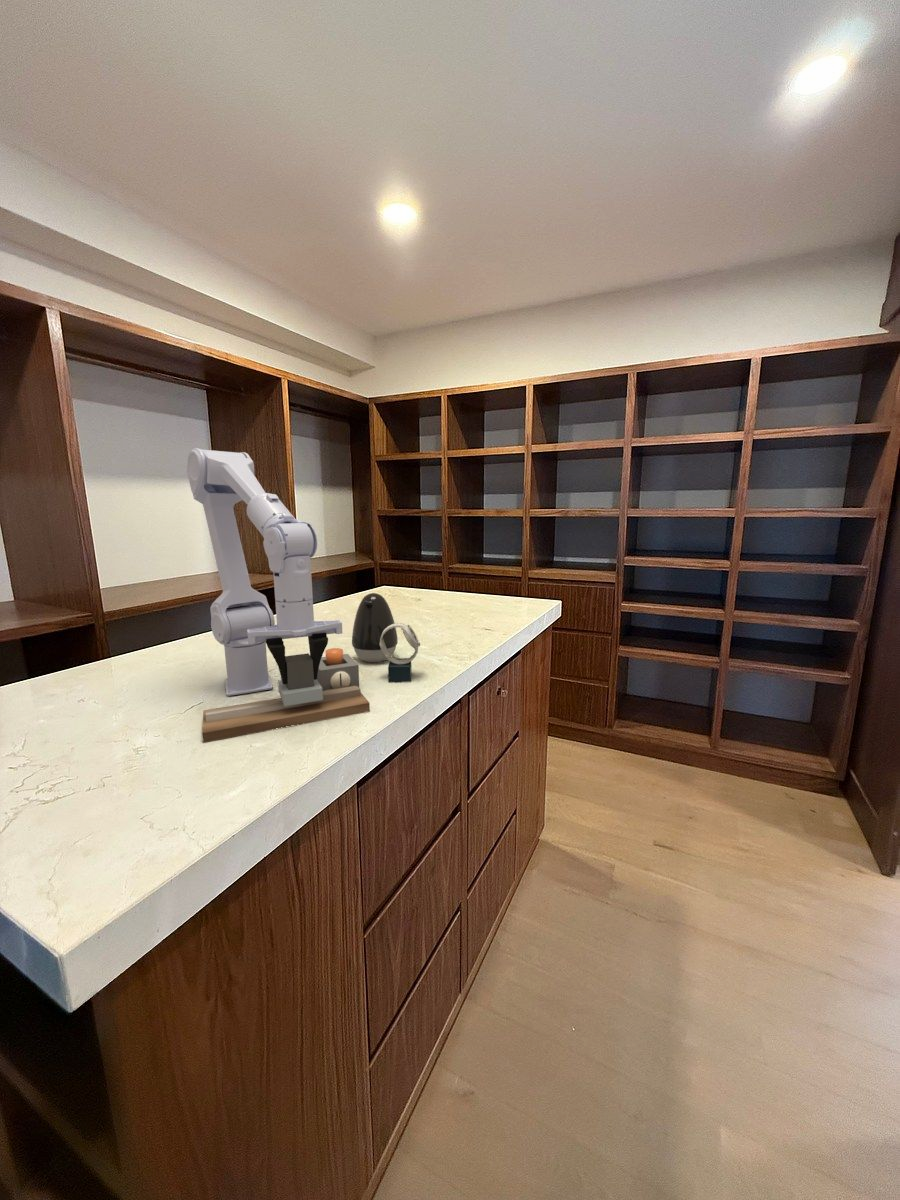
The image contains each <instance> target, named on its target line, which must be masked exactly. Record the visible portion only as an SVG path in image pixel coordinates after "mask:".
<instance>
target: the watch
mask: <svg viewBox="0 0 900 1200" xmlns="http://www.w3.org/2000/svg"><path fill="white" fill-rule="evenodd" d="M394 623H395V624H391V625H390V626H388V627H387V628H386V629H385V630H384V631H383V633H382V635H381V638H380V648H381V651H382V653H383V654H384V656H385V657H386V659H387V660H386V661H387V662H388V666H387V671H388V673H387V674H388V675H387V676H388V683H411V681H412V673H413V672H412V661H414V659H415V658H416V657H417V654H418V653H419V647H421V642H420V640H419V638H418V636H417V634H416V632H415V631H414V629H413V628H412V626H410V625H409V624H407V625H406V624H405V623H402V622H400V623H399V622H394ZM392 628H396V629H397V628H400V629H401V631H402V632H403V633H402V634H403V635H404V637H405V639H406V642H408V643H407V644H409V645H410V647H411V648H413V649H414V652H413V654H412V655H411V656H409V657H406V658H405V657H404V658H403V657H402V658H398V657H397V658H395V657H393V655H391V654H390V653H389V651H388V650H387V648H386V646H385V643H384V639H382V638H383V635H384V634H385V632H386V631H388V630H389V629H392Z"/></svg>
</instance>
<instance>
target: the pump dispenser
mask: <svg viewBox="0 0 900 1200" xmlns="http://www.w3.org/2000/svg"><path fill="white" fill-rule="evenodd" d="M395 623H396V622H395V619H394V616H393V612H392V611H391V608H390V605H389V603H388V602H387V600H386V599H385V597H383V595H382V594H380V593H376V592H372V593H368V594H366V595H365V596H364V597H362V599H361V601H360V603H359V605H358V608H357V611H356V614H355V618H354V621H353V627H352V635H351V646H352V647H353V649H354V652H355V655H356V656H357V657H358V658H359V659H360V660H362V661H365V662H366V663H380V662H384V661H388V660H387V659H386V657H385V656H384V654H383V653H382V651H381V648H380V638H381V635H382V633H383V631H384V630H385V629H386V628H387V627H388V626H390V625H391V624H395ZM397 632H398V631H397V627H396V628H392V629H389V630H388V631H386V632H385V634H384V635H383V638H382V639H384V643H385V646H386V648H387V650H388V651H389V653H390V654H391V655H392V656H393V654H394V653H395V651H396V648H397V645H398V642H399V641H398V633H397Z"/></svg>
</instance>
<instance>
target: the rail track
mask: <svg viewBox="0 0 900 1200" xmlns="http://www.w3.org/2000/svg"><path fill="white" fill-rule="evenodd" d="M370 711H371V709H370V702H369V701H368V699H367V698H366V697H365V695H364V694H363V693H362V692H361V688H360V686H359V687H358V686H350V687H343V688H337V689H331V690H325V691H323V700H320V701H314V702H308V703H302V704H296V705H290V706H284V705H283V702H282V699H281V697H278V698H271V699H265V700H264V699H263V700H259V701H251V702H246V703H239V704H234V705H228V706H221V707H215V708H210V709H204V710H203V711H202V712H203V714H202V727H201V728H202V731H201V734H202V742H203V743H202V744H204V743H209V742H215V741H219V740H224V739H229V738H236V737H240V736H245V735H250V734H255V733H256V734H257V733H262V732H266V731H267V730H268V731H272V729H273V730H277V729H276V728H278V729H282V728H281V727H283V728H287V727H286V726H289V727H292V726H291V725H294V726H298V725H297V724H299V725H304V724H303V723H305V724H309V723H310V724H311V723H314V722H321V721H324V720H331V719H335V718H341V717H347V716H350V715H351V716H352V715H356V714H362V713H368V712H370Z"/></svg>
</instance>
